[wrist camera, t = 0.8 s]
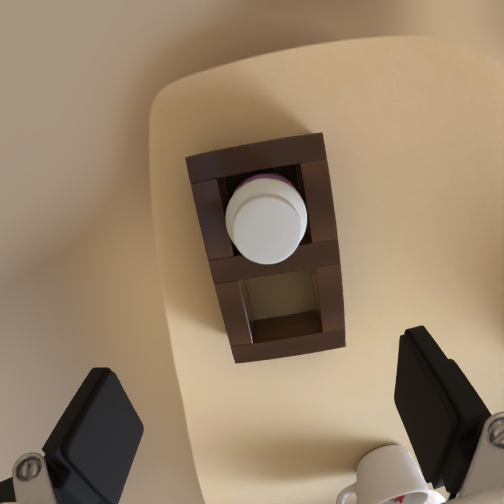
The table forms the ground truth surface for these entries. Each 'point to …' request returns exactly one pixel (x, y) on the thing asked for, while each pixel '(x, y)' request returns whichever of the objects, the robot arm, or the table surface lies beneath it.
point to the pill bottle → (266, 217)
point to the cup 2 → (434, 498)
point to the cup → (387, 479)
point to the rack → (304, 257)
